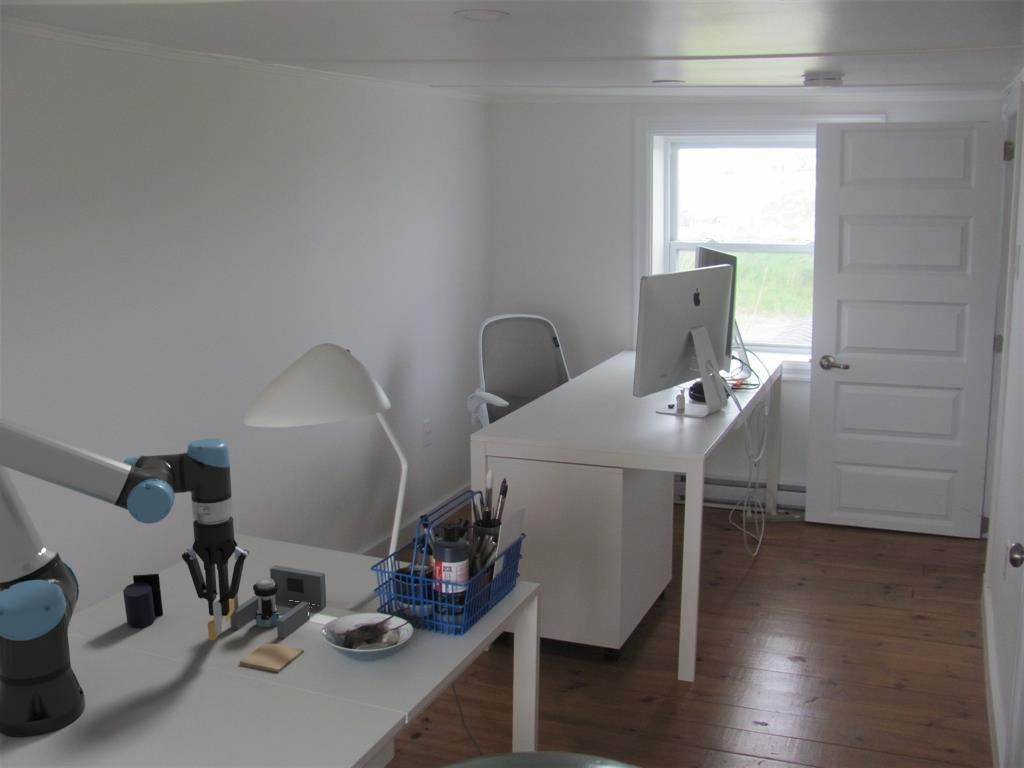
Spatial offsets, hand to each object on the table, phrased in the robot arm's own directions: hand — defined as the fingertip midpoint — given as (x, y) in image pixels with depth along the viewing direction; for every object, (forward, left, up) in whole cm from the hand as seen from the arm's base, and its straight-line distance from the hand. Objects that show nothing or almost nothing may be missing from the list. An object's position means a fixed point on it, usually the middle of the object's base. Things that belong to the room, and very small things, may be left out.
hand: (220, 629), depth 203 cm
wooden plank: (+6, +3, -1) cm, 7 cm away
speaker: (+7, +25, -6) cm, 27 cm away
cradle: (+20, 0, -6) cm, 20 cm away
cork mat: (+3, -10, -6) cm, 12 cm away
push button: (+16, -1, -6) cm, 17 cm away
